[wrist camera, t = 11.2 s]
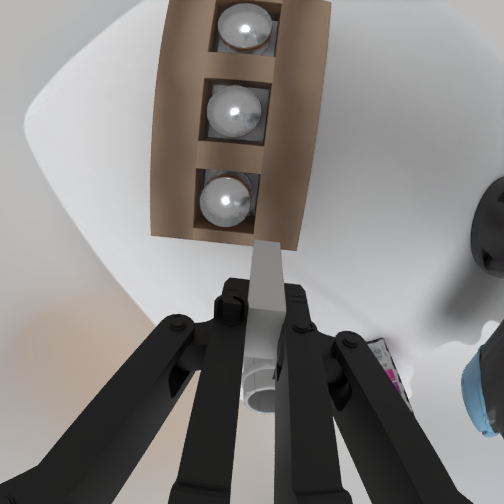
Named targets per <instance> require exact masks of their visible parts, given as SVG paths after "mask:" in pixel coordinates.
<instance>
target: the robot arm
mask: <svg viewBox="0 0 504 504" xmlns="http://www.w3.org/2000/svg"><path fill="white" fill-rule="evenodd" d="M471 248H472V253H473V257H474V259H475V261H476V263H477V264H478V265H479V266H480V267H481V268H482V269H484V270H485V271H486V272H487V273H489V274H490V275H493V276H496V277H499V278H502V279H504V177H503V178H501V179H499V180H497V181H496V182H495V183H494V184H492V186H491V187H490V188H489V189H488V190H487V192H486V193H485V195H484V196H483V198H482V200H481V202H480V204H479V206H478V209H477V211H476V214H475V218H474V222H473V226H472V233H471ZM276 354H277V362H276V366H275V370H274V374H273V378H272V379H275V474H274V475H275V477H274V504H353V503H352V498H351V495H350V494H349V492H348V491H346V490H345V489H344V488H343V487H342V483H341V474H340V466H339V458H338V450H337V443H336V435H335V429H334V422H333V417H334V419H335V421H336V424H337V426H338V428H339V430H340V433H341V435H342V437H343V439H344V442H345V444H346V446H347V448H348V450H349V453H350V455H351V457H352V459H353V461H354V464H355V466H356V468H357V471H358V473H359V475H360V478H361V480H362V482H363V484H364V487H365V489H366V491H367V493H368V496H369V498H370V500H371V502H372V504H473V503H472V502H471V501H470V500H468V499H467V498H466V497H465V496H464V495H462V494H461V493H460V492H459V491H458V490H457V489H456V487H455V485H454V483H453V481H452V479H451V478H450V476H449V474H448V472H447V471H446V469H445V467H444V465H443V464H442V462H441V460H440V458H439V457H438V455H437V453H436V452H435V450H434V448H433V446H432V445H431V443H430V441H429V440H428V438H427V437H426V435H425V433H424V432H423V430H422V428H421V427H420V425H419V423H418V422H417V420H416V418H415V417H414V415H413V414H412V412H411V410H410V409H409V407H408V406H407V404H406V402H405V401H404V399H403V398H402V396H401V395H400V393H399V391H398V390H397V388H396V387H395V385H394V384H393V382H392V381H391V379H390V378H389V376H388V375H387V373H386V371H385V370H384V368H383V367H382V365H381V364H380V362H379V361H378V359H377V358H376V356H375V355H374V353H373V352H372V350H371V349H370V348H369V346H368V345H367V343H366V342H365V340H364V339H363V338H362V337H361V336H360V335H358V334H357V333H355V332H351V331H342V332H339V333H338V334H337V335H336V337H332V336H329V335H325V334H323V333H321V332H319V331H318V330H317V327H316V325H315V324H314V323H313V322H312V321H311V318H310V313H309V308H308V304H307V298H306V292H305V290H304V289H303V288H302V286H301V285H297V284H288V283H284V280H283V269H282V258H281V248H280V243H279V242H270V241H262V240H254V247H253V255H252V264H251V272H250V280H247V279H238V278H229V279H228V280H227V281H226V282H225V283H224V287H223V291H222V295H220V296H219V297H217V298H216V300H215V301H214V318H213V319H211V320H209V321H206V322H201V323H194V321H193V320H192V319H191V318H190V317H188V316H186V315H182V314H173V315H170V316H167V317H166V318H164V319H163V320H162V321H161V322H160V323H159V324H158V325H157V327H156V328H155V329H154V330H153V331H152V332H151V333H150V334H149V336H148V337H147V338H146V339H145V340H144V341H143V343H142V344H141V345H140V346H139V347H138V348H137V349H136V350H135V351H134V353H133V354H132V355H131V356H130V357H129V358H128V359H127V360H126V362H125V363H124V364H123V365H122V366H121V367H120V368H119V370H118V371H117V372H116V373H115V374H114V375H113V377H112V378H111V379H110V380H109V381H108V382H107V384H106V385H105V386H104V387H103V388H102V389H101V390H100V392H99V393H98V394H97V395H96V396H95V397H94V399H93V400H92V401H91V402H90V403H89V404H88V406H87V407H86V408H85V409H84V411H83V412H82V413H81V414H80V415H79V416H78V417H77V419H76V420H75V421H74V422H73V423H72V425H71V426H70V427H69V428H68V429H67V431H66V432H65V433H64V434H63V435H62V437H61V438H60V439H59V440H58V441H57V443H56V444H55V445H54V446H53V448H52V449H51V450H50V451H49V452H48V454H47V455H46V456H45V457H44V458H43V460H42V461H41V462H40V463H39V465H37V466H35V467H33V468H32V469H30V470H28V471H26V472H24V473H22V474H20V475H18V476H16V477H14V478H12V479H10V480H8V481H6V482H4V483H1V484H0V504H111V503H112V502H113V501H114V499H115V498H116V496H117V495H118V493H119V492H120V490H121V488H122V487H123V485H124V484H125V482H126V481H127V479H128V478H129V476H130V475H131V473H132V471H133V470H134V468H135V467H136V465H137V464H138V462H139V461H140V459H141V458H142V456H143V454H144V453H145V451H146V450H147V448H148V446H149V445H150V444H151V442H152V440H153V439H154V437H155V435H156V434H157V433H158V431H159V429H160V428H161V426H162V424H163V423H164V421H165V420H166V418H167V416H168V415H169V413H170V412H171V410H172V409H173V407H174V405H175V404H176V402H177V401H178V399H179V398H180V396H181V394H182V393H183V391H184V389H185V388H186V386H187V385H188V383H189V381H190V380H191V378H192V377H193V375H194V373H195V371H197V370H201V373H200V377H199V381H198V386H197V390H196V394H195V399H194V403H193V407H192V412H191V416H190V421H189V426H188V430H187V434H186V439H185V443H184V448H183V452H182V457H181V462H180V467H179V471H178V476H177V479H176V481H175V483H174V484H173V486H172V488H171V492H170V496H169V501H168V504H230V495H231V480H232V470H233V459H234V450H235V439H236V428H237V419H238V409H239V399H240V388H241V378H242V368H243V357H253V358H263V359H275V358H276ZM461 387H462V396H463V400H464V404H465V407H466V410H467V412H468V414H469V416H470V418H471V420H472V422H473V424H474V426H475V427H476V428H477V429H478V430H479V432H482V434H483V435H484V436H485V437H493V436H497V435H498V434H499V433H500V434H501V435H502V437H503V438H504V319H503V321H502V322H501V324H500V325H499V326H498V328H497V329H496V330H495V332H494V333H493V334H492V335H491V337H490V338H489V339H488V340H487V342H486V343H485V344H484V345H481V346H480V348H479V349H478V352H477V353H476V355H475V356H474V357H473V358H472V360H471V361H470V362H469V363H468V364H467V366H466V367H465V369H464V371H463V374H462V378H461Z"/></svg>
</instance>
